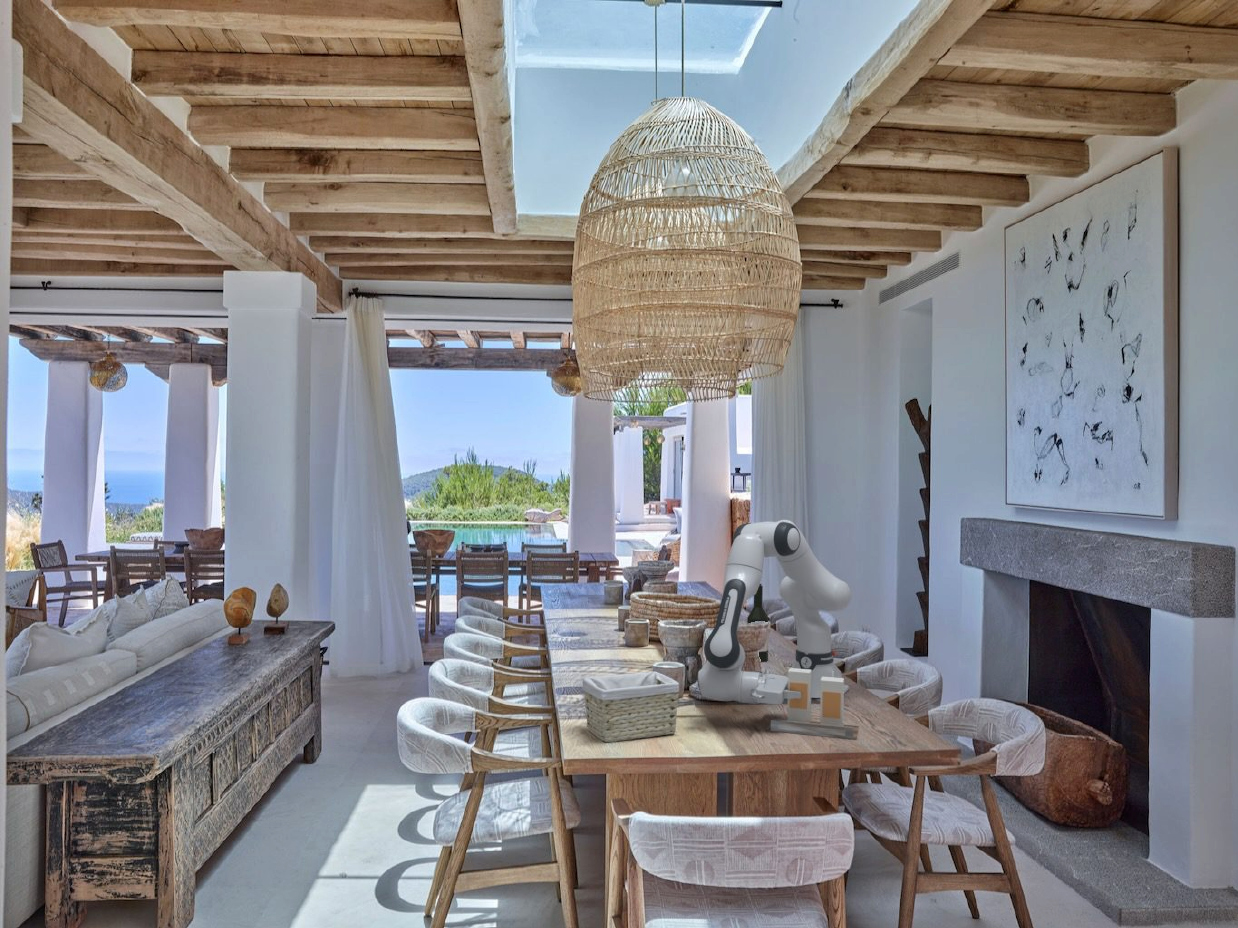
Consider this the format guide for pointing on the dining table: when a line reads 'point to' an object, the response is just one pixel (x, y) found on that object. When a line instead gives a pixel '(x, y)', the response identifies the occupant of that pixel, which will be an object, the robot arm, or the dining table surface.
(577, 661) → the dining table surface
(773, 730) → the shelf board
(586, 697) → the storage basket
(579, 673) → the dining table surface
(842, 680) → the carton
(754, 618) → the wine bottle
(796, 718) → the cream carton
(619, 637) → the dining table surface
